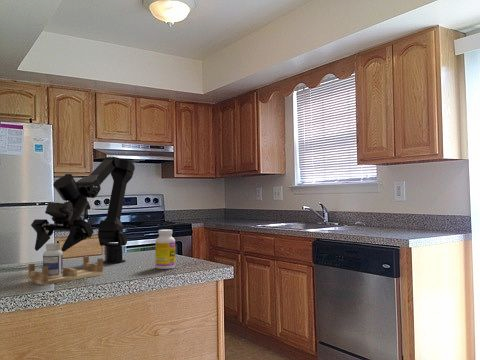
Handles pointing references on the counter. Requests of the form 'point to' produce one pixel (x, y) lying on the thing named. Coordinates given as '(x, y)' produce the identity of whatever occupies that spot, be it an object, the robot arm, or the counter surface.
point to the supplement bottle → (165, 250)
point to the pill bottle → (53, 260)
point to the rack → (66, 272)
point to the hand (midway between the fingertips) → (49, 250)
